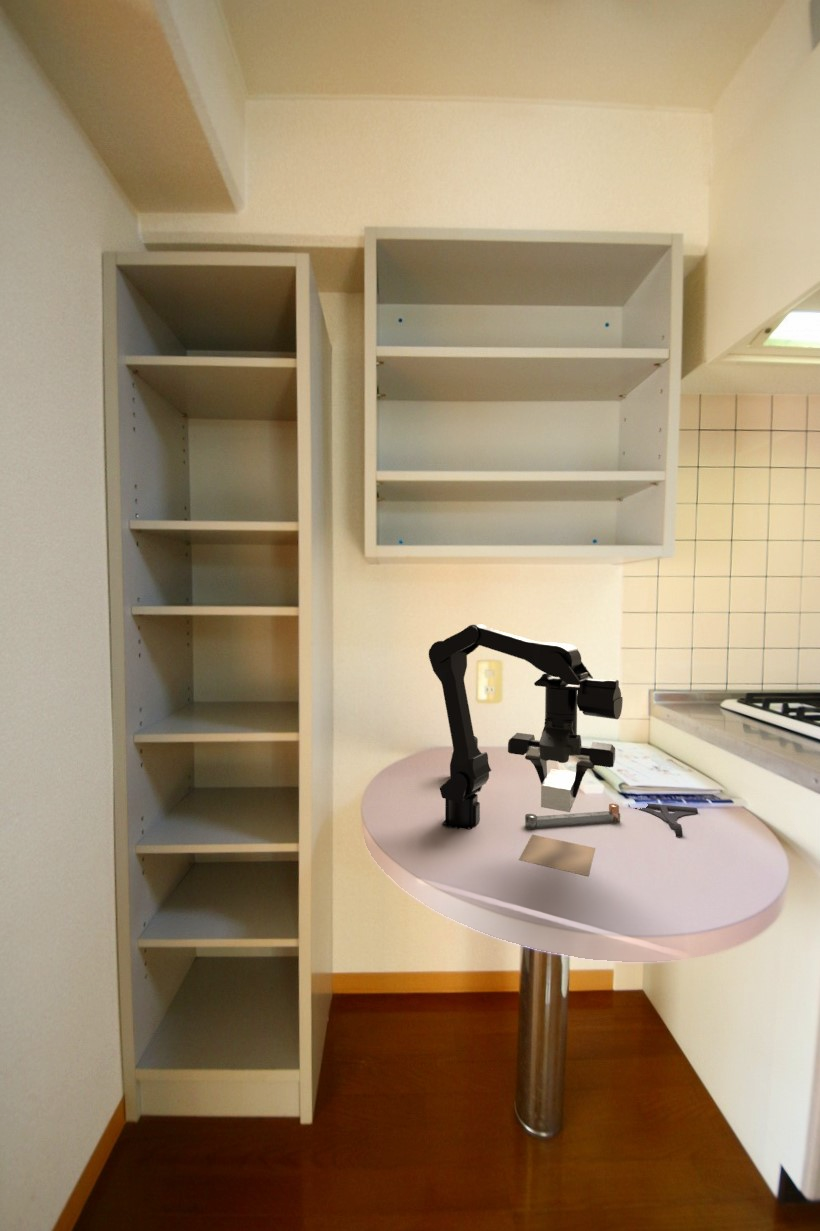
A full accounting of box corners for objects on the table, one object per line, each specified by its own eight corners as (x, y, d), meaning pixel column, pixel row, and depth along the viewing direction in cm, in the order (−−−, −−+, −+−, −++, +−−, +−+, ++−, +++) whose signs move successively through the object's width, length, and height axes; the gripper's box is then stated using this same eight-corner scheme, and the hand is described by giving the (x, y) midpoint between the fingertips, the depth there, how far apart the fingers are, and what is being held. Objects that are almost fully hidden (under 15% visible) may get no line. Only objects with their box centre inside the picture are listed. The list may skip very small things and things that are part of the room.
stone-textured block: (540, 807, 89) (541, 785, 89) (551, 788, 98) (551, 768, 97) (569, 812, 86) (569, 789, 86) (577, 793, 95) (577, 772, 95)
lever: (527, 831, 101) (528, 814, 101) (523, 826, 103) (523, 809, 103) (621, 824, 105) (621, 807, 105) (614, 819, 107) (614, 803, 107)
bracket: (640, 835, 102) (640, 822, 101) (627, 807, 116) (628, 795, 116) (718, 845, 98) (719, 831, 98) (695, 814, 112) (695, 802, 112)
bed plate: (518, 862, 89) (518, 859, 89) (532, 837, 99) (532, 834, 99) (588, 879, 84) (588, 876, 84) (595, 851, 94) (595, 847, 94)
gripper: (500, 714, 89) (499, 800, 89) (611, 726, 80) (610, 821, 81) (515, 704, 99) (514, 781, 99) (616, 713, 90) (614, 797, 91)
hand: (559, 794), depth 92 cm, fingers closed on stone-textured block, 5 cm apart
